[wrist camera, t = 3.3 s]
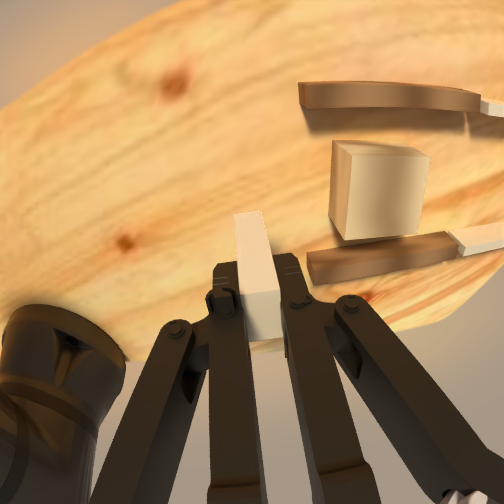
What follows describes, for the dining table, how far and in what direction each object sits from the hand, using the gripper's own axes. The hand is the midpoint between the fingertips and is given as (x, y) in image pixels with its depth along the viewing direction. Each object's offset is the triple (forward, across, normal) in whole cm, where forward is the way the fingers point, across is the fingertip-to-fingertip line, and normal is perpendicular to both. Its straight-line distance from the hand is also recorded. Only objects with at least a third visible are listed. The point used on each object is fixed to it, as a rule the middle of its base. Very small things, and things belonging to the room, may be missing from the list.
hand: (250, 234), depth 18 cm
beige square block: (+6, +10, 0) cm, 11 cm away
